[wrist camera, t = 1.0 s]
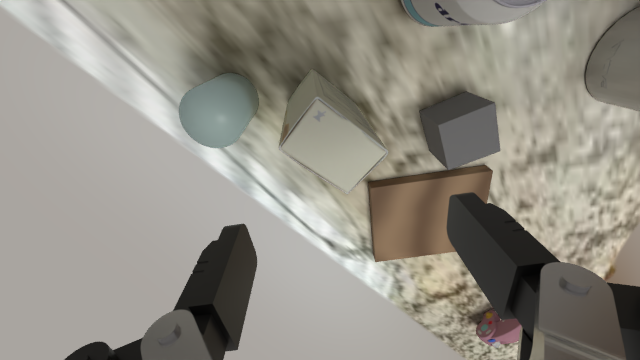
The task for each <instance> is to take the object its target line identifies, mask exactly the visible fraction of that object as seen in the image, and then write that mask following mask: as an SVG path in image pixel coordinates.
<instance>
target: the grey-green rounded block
mask: <svg viewBox="0 0 640 360" xmlns="http://www.w3.org/2000/svg"><path fill="white" fill-rule="evenodd" d="M258 105H259V98H258V94H257V91H256V89H255V87H254V86H253V84H252V83H251V82H250V81H249V80H248V79H246V78H245V77H243V76H241V75H239V74H235V73H225V74H222V75H220V76H217V77H215V78H213V79H211V80H209V81H207V82H205V83H203V84H201V85H199V86H197V87H195V88H193V89H191V90H189V91H188V92H187V93H186V94H185V95H184V96H183V98H182V100H181V102H180V106H179V117H180V121H181V124H182V126H183V128H184V129H185V131H186V132H187V133H188V135H189V136H190V137H191V138H193V139H194V140H195V141H197V142H198V143H200V144H202V145H204V146H207V147H212V148H223V147H227V146H229V145H231V144H233V143H234V142H236V141H237V140H238V138H239V137H240V136H241V134H242V133H243V131H244V130H245V128H246V127H247V125H248V124H249V122H250V121H251V119H252V118H253V116H254V115H255V113H256V111H257V109H258Z"/></svg>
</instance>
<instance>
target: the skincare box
mask: <svg viewBox="0 0 640 360" xmlns="http://www.w3.org/2000/svg"><path fill="white" fill-rule="evenodd" d="M279 150H280V151H282V152H283V153H285V154H286V155H287V156H289V157H290V158H291V159H293V160H294V161H296V162H297V163H298V164H300V165H301V166H303V167H304V168H306V169H307V170H309V171H311V172H312V173H314V174H315V175H317V176H318V177H320V178H321V179H323V180H325V181H326V182H328V183H329V184H331V185H333V186H335V187H336V188H338V189H339V190H341V191H343V192H344V193H346V194H348V193H350V192H351V191H352V190H353V189H354V188H355V187H356V186H357V185H358V184H359V183H360V182H361V181H362V180H363V179H364V178H365V177H366V176H367V175H368V174H369V173H370V172H371V171H372V170H373V169H374V168H375V167H376V166H377V165H378V164H379V163H380V162H381V161H382V160H383V159H384V158H385V157H386V156H387V155H388V150H387V149H386V147H385V146H384V144H383V143H382V142H381V140H380V139H379V137H378V136H377V134H376V133H375V131H374V130H373V128H372V127H371V125H370V124H369V122H368V121H367V120H366V118H365V117H364V115H363V114H362V112H361V111H360V109H359V108H358V106H357V105H356V104H355V103H354V102H353V101H352V100H351V99H349V98H348V97H347V96H346V95H345V94H344V93H342V92H341V91H340V90H339V89H338V88H336V87H335V86H334V85H333V84H331V83H330V82H329V81H328V80H326V79H325V78H324V77H322V76H321V75H320V74H319V73H317V72H316V71H315V70H313V69H311V70H310V71H309V73H308V74H307V75H306V77H305V78H304V79H303V81H302V82H301V83H300V85H299V86H298V87H297V89H296V90H295V92H294V93H293V95H292V96H291V98H290V99H289V101H288V104H287V108H286V113H285V118H284V123H283V128H282V133H281V138H280V143H279Z"/></svg>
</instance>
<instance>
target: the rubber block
mask: <svg viewBox="0 0 640 360" xmlns="http://www.w3.org/2000/svg"><path fill="white" fill-rule="evenodd" d="M419 113H420V117H421V121H422V124H423V128H424V132H425V136H426V140H427V144H428V148H429V151H430V152H431V153H432V154H433V155H434V156H435V157H436V158H437V159H438V160H439V161H440V162H441V163H442V164H443V165H444V166H445V167H446V168H447V169H448V170H450V169H453V168H456V167H459V166H461V165H464V164H467V163H469V162H472V161H475V160H477V159H480V158H483V157H486V156H488V155H491V154H494V153H496V152H499V151H500V143H499V134H498V125H497V116H496V107H495V103H494V102H492V101H489V100H487V99H484V98H482V97H479V96H477V95H474V94H472V93H469V92H464V93H462V94H459V95H457V96H454V97H452V98H450V99H447V100H445V101H442V102H440V103H438V104H435V105H433V106H430V107H428V108H426V109H423V110H421V111H419Z"/></svg>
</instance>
